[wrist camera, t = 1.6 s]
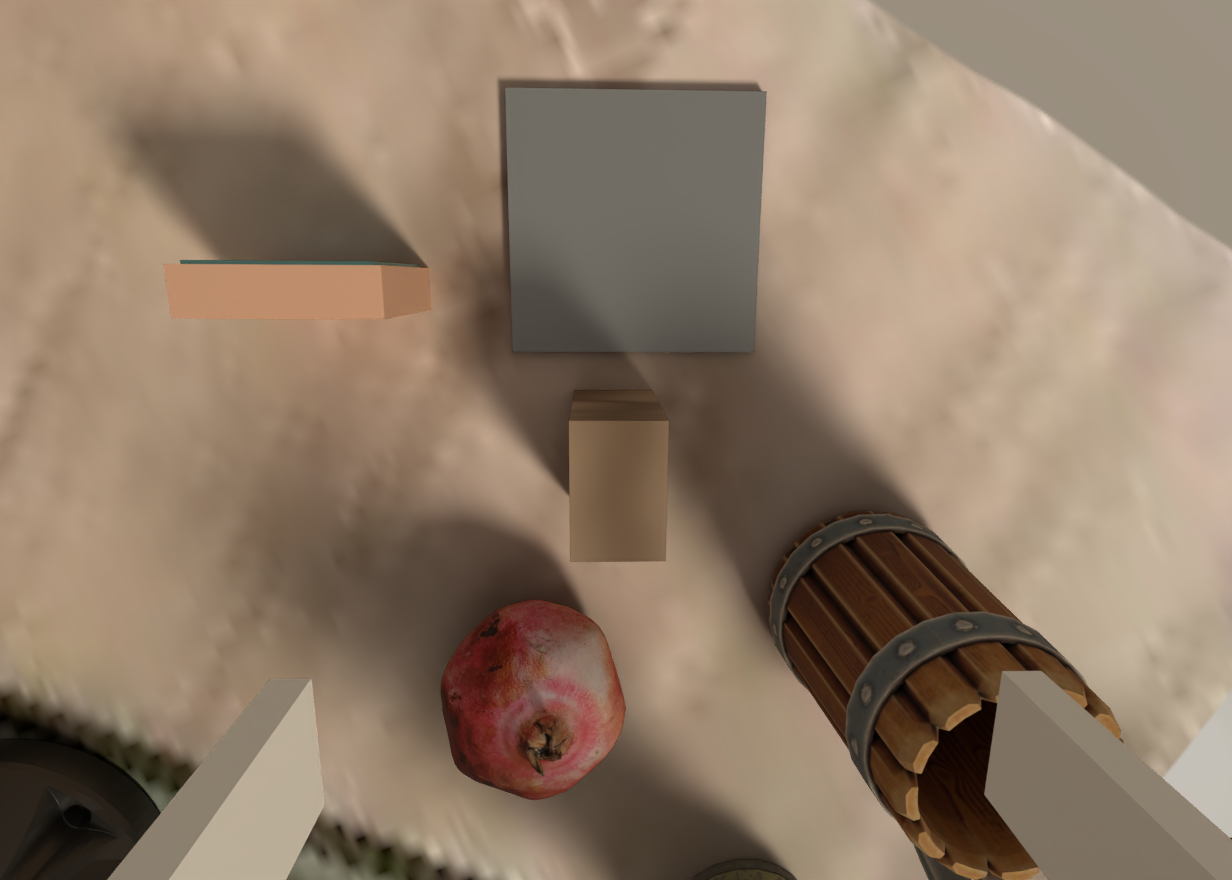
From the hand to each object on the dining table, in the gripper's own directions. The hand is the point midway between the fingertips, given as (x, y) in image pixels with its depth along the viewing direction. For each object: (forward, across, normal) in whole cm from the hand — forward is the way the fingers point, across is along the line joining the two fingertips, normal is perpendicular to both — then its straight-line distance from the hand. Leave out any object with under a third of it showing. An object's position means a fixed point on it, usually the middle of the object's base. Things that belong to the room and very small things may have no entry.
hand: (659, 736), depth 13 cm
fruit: (+24, -4, -12) cm, 27 cm away
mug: (+24, +14, -11) cm, 30 cm away
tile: (+24, -13, +8) cm, 28 cm away
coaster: (+24, +1, +11) cm, 26 cm away
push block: (+24, 0, 0) cm, 24 cm away
